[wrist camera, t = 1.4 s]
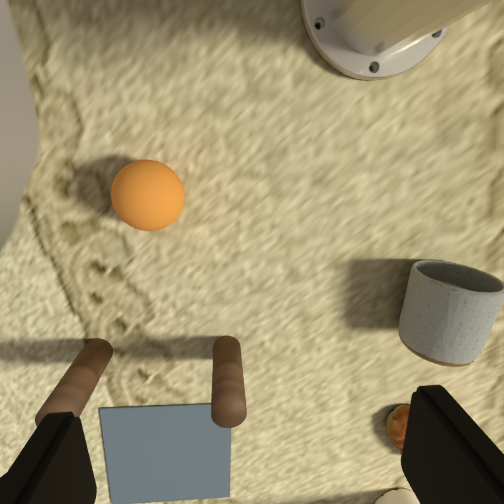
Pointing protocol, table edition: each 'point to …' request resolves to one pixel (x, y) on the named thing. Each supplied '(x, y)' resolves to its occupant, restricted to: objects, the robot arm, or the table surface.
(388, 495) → the water bottle
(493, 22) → the table surface
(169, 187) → the ball
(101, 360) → the post
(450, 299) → the ceramic mug
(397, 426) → the pastry
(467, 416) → the robot arm
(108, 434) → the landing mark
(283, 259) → the table surface
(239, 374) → the post
